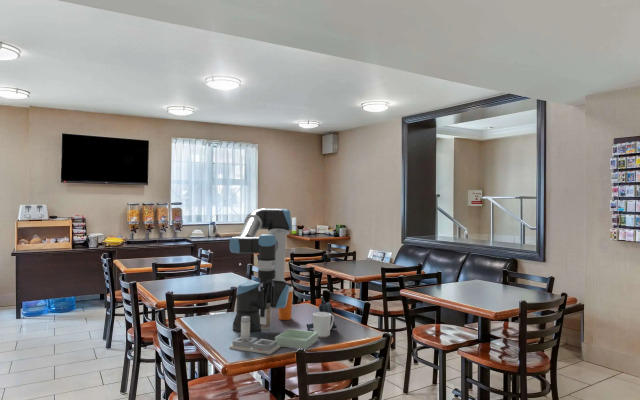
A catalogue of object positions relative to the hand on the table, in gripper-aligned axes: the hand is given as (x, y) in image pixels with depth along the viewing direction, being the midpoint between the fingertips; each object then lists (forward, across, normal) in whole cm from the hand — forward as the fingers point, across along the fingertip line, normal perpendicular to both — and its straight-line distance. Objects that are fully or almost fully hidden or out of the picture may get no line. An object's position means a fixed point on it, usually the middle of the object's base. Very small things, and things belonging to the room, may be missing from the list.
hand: (265, 322), depth 186 cm
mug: (+12, +31, -16) cm, 37 cm away
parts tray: (+12, +14, -9) cm, 20 cm away
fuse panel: (+12, 0, +5) cm, 12 cm away
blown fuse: (+3, 0, 0) cm, 3 cm away
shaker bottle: (+12, +52, +15) cm, 55 cm away
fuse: (+11, 0, +10) cm, 14 cm away
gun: (+12, +38, -12) cm, 42 cm away
